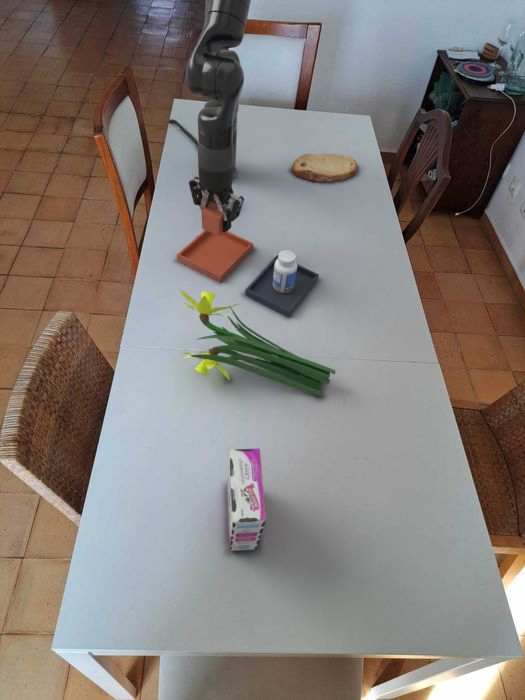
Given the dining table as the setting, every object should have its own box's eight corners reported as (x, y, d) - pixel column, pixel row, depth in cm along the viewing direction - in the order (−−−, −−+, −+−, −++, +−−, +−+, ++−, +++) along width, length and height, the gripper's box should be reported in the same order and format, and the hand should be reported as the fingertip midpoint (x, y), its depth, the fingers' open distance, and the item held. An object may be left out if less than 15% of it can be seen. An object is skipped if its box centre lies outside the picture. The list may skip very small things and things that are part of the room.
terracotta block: (201, 228, 110) (201, 211, 106) (213, 218, 113) (213, 200, 109) (219, 236, 109) (219, 219, 105) (230, 225, 111) (231, 208, 107)
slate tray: (245, 295, 110) (245, 289, 109) (276, 260, 118) (277, 254, 117) (288, 317, 107) (289, 311, 105) (317, 280, 115) (319, 274, 114)
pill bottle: (294, 279, 114) (300, 249, 106) (293, 294, 111) (298, 265, 103) (272, 276, 114) (276, 246, 106) (270, 292, 111) (274, 262, 103)
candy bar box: (259, 550, 76) (267, 521, 63) (229, 552, 75) (231, 524, 62) (254, 484, 83) (260, 446, 69) (226, 486, 82) (228, 448, 69)
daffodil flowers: (313, 432, 91) (145, 369, 85) (306, 396, 104) (161, 340, 99) (352, 361, 85) (175, 288, 79) (340, 333, 98) (187, 270, 93)
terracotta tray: (177, 260, 115) (176, 254, 114) (212, 229, 124) (211, 223, 122) (220, 282, 112) (220, 276, 110) (252, 249, 120) (253, 243, 119)
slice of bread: (361, 167, 148) (364, 156, 145) (337, 193, 138) (340, 182, 135) (312, 148, 152) (314, 137, 149) (286, 172, 142) (287, 161, 139)
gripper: (253, 165, 97) (249, 229, 111) (198, 142, 101) (201, 207, 114) (234, 181, 93) (232, 246, 106) (177, 157, 97) (183, 222, 110)
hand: (216, 225), depth 110 cm, fingers closed on terracotta block, 5 cm apart
